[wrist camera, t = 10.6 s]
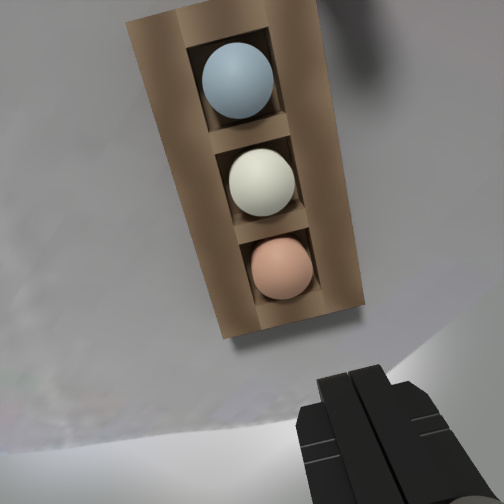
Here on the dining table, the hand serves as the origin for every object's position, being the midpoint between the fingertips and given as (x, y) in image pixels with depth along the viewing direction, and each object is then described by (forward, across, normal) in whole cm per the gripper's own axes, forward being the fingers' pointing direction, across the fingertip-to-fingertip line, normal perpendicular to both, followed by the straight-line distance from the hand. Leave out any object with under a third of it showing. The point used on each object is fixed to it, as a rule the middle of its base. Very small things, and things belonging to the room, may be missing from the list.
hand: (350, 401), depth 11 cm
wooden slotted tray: (+27, 0, 0) cm, 27 cm away
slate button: (+26, 0, -7) cm, 27 cm away
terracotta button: (+26, 0, +7) cm, 27 cm away
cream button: (+26, 0, 0) cm, 26 cm away
